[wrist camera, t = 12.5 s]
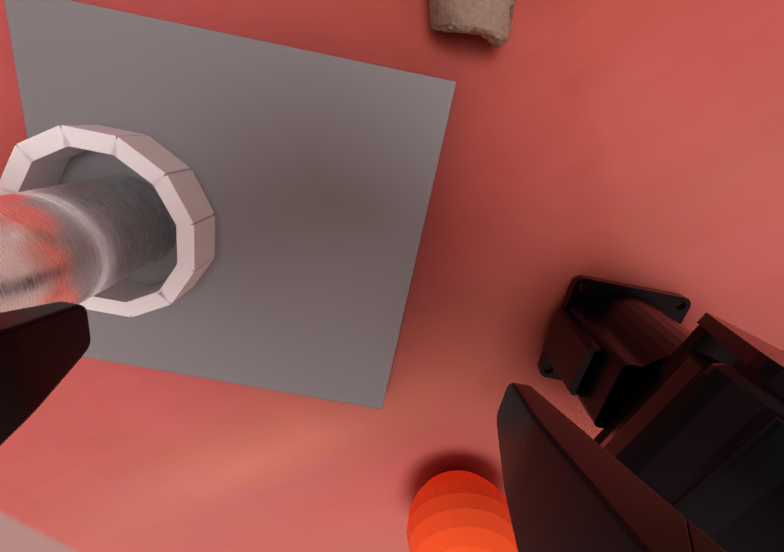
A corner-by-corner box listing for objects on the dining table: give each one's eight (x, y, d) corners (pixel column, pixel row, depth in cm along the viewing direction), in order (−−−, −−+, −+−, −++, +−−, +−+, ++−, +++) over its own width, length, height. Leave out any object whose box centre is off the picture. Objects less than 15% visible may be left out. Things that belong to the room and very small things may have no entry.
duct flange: (452, 85, 18) (462, 76, 14) (383, 393, 24) (379, 434, 21) (35, -3, 17) (-54, -33, 14) (83, 339, 24) (31, 374, 20)
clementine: (408, 526, 29) (408, 644, 22) (379, 460, 27) (371, 572, 20) (512, 507, 28) (545, 626, 21) (493, 437, 25) (523, 547, 19)
